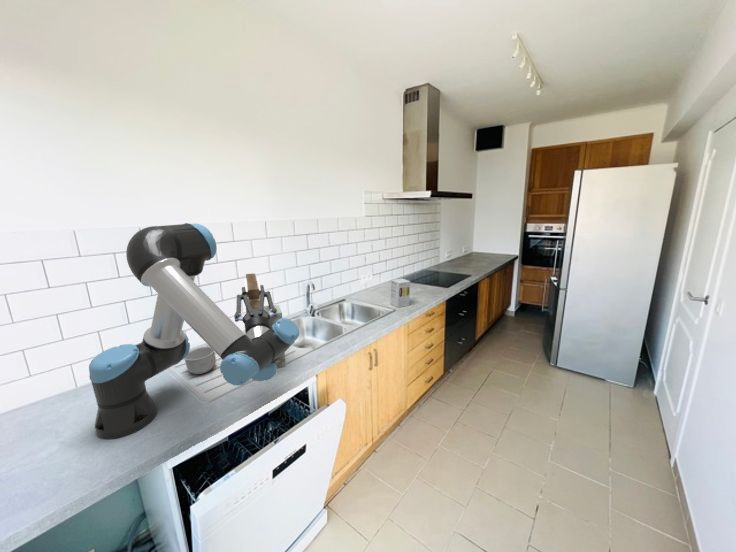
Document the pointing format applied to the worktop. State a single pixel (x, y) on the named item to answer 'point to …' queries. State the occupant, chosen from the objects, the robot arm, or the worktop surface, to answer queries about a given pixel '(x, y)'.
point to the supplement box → (400, 292)
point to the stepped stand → (272, 320)
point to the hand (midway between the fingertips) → (251, 280)
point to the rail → (252, 286)
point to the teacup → (200, 360)
